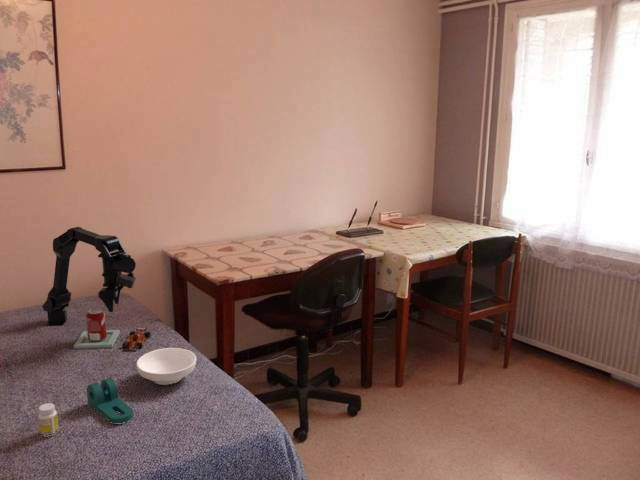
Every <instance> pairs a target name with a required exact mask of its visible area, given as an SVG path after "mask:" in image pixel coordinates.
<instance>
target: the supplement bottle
mask: <svg viewBox="0 0 640 480" xmlns="http://www.w3.org/2000/svg"><path fill="white" fill-rule="evenodd" d="M37 417H38V427H39V434H41V435H46V436H47V435H52V434H54V433H56V432H57V431H58V430H59V431H60V429H59V427H60V426H59V421H58V419H59V418H58V411H57V410H56V407H55V404H54V403H52V402H50V403H49V402H48V403H43V404H42V405H40V406H39V407H38V416H37ZM41 435H40V436H41Z"/></svg>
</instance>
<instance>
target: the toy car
mask: <svg viewBox="0 0 640 480" xmlns="http://www.w3.org/2000/svg"><path fill="white" fill-rule="evenodd" d="M147 330H148V327H141V326H139V327H138V326H137V327H136V331H132V330H131V331H130V332H129V336H128V337H127V339H126V342H123V343H122V349H123V350H122V352H132V353H135V352H137V349H135V347H138V349H143V344H144V343H145V342H146V340H147V339H149V338H151V331H147ZM143 331H144V332H143ZM126 346H128V348H127V347H126Z"/></svg>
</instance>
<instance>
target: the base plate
mask: <svg viewBox="0 0 640 480" xmlns="http://www.w3.org/2000/svg"><path fill="white" fill-rule="evenodd" d="M120 330H121V329H106V334H107V337H106V338H105V339H104V340H102V341H99V342H93V341H90V340H88V331H87V330H83V331H82V332H81V334H80V336H79V337H78V339H76V342H75V343H74V344H73V350H76V349H77V350H80V349H82V350H83V349H84V350H85V349H106V348H107V349H111V348H113V347H114V345H115V343H116V341H117V339H118V337H119V335H120V333H121V331H120Z"/></svg>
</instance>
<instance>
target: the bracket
mask: <svg viewBox="0 0 640 480" xmlns="http://www.w3.org/2000/svg"><path fill="white" fill-rule="evenodd" d="M86 397H87V405H88V404H89V406H90V405H91V406H92V407H93V408H95V409H96V410H97V411H98V412H99V413H101V414H102V415H103V416H104V417H106V418H107V419H108V420H109V421H110V422H112V423H123V422H127V421H128V420H130V419H131V418H132V417H133V418H134V413H133V412H134V411H133V408H132V407H130V406H129V405H128V404H127V403H125V402H124V401H123V400H121V399H120V398H119V388H118V385H117V383H116V381H115V379H114V378H113V377H108V378H104V379H102V380H101V382H100V383H98V382H97V381H96V382H93V383H91V384H88V385H87V387H86ZM91 406H90V407H91ZM92 407H91V408H92ZM93 408H92V409H93ZM96 410H95V411H96ZM97 411H96V412H97ZM116 411H118V412H120V413H121V414H122V415H120V414H119V413H118V412H116ZM98 412H97V413H98ZM99 413H98V414H99ZM103 416H102V417H103ZM104 417H103V418H104ZM109 421H108V422H109ZM110 422H109V423H110Z"/></svg>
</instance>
